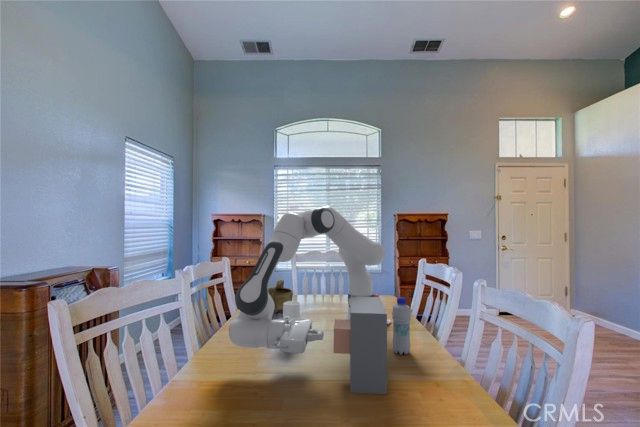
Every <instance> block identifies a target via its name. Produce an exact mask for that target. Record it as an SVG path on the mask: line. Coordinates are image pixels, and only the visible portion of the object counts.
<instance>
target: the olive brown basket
mask: <svg viewBox="0 0 640 427" xmlns="http://www.w3.org/2000/svg"><path fill="white" fill-rule="evenodd" d="M284 283H285V280H284V279H282V278H281V279H278V278H277V281H276V286H268V293H269V295H270V296H271V297H272V299H273V301H274V305H275V309H274V313H280V312H283V303H284V302H288V301H293V298H294V296H293V289H291V288H288V287H287V288H286V287H285V286H284Z"/></svg>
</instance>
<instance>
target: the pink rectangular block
mask: <svg viewBox="0 0 640 427" xmlns="http://www.w3.org/2000/svg"><path fill="white" fill-rule="evenodd" d="M350 337H351V328H350V320H346V319H334V325H333V354H345V355H350Z"/></svg>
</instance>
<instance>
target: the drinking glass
mask: <svg viewBox="0 0 640 427" xmlns="http://www.w3.org/2000/svg"><path fill="white" fill-rule="evenodd" d="M286 316H288V317H290V319H292V318H300V316H301V304H300V301H299V302H298V301H297V300H296V301H295V300H292V301H288V302H284V303H283V311H282V318H283V317H286ZM300 319H301V318H300Z"/></svg>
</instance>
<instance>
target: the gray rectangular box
mask: <svg viewBox="0 0 640 427" xmlns="http://www.w3.org/2000/svg"><path fill="white" fill-rule="evenodd" d="M381 299H382V298H381V297H380V296H379V297H358V296H350V328H351V337H350V354H349V374H350V375H349V380H350V382H349V384H350V385H349V386H350V388H349V389H350V392H349V393H353V394H354V393H355V394H368V395H369V394H370V395H371V394H373V395H374V394H375V395H388V325H387V318H388V313H387V311H386V308H385V307H384V304H383V302H382V300H381Z"/></svg>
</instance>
